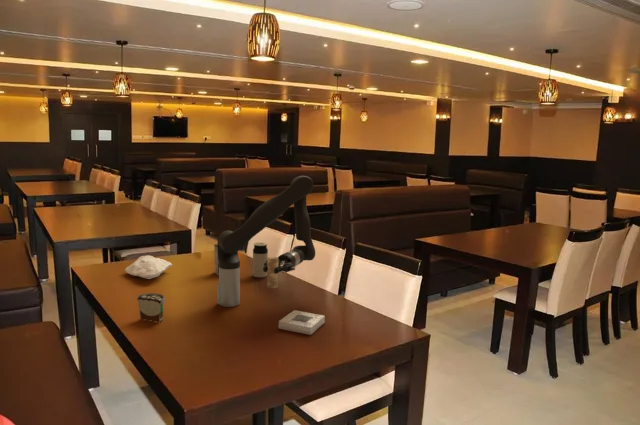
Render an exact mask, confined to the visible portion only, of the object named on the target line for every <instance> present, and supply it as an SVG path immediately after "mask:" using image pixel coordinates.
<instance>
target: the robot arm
mask: <svg viewBox="0 0 640 425" xmlns="http://www.w3.org/2000/svg"><path fill="white" fill-rule="evenodd" d="M313 188H314V182H313V179H312V178H311V177H310V176H307V175H299V176H296V177H294V178H293V179H292V180H291V181H290V185H289V186H288V187H287V188H286V189H285V190H283V191H282V192H280V193H278V194H277V195H275V196H273V197H271V198H268V200H266V201H265V202H263V203H262V204H261V205H259V206H258V207H257V208H256V209H255V210H253V212H252V213H251V215H250V216H249V218H248V219H247V220H246V221H245V222H244V223H243V225H241V226H240V227H238V228H237V229H235V230H234V231H232V230H224V231H222V232H221V233H220V234H219V236H218V238H217V243H216V244H217V248H218V261H219V275H218V278H219V279H218V283H217V285H216V289H217V292H216V299H217V300H216V303H217V304H218V305H219V306H221V307H225V308H232V307H237V306H239V305H240V303H241V301H240V300H241V299H240V298H241V286H240V285H241V260H240V258H239V251H240V250H241V249H242V248H243V247H245V246H246V244H248V243H249V242H250V241H251V239H253V238H254V237H255V236H256V235H258V234H259V233H260V232H262V231H263V230H265V229H266V228H267V227H268V226H270V225H271V224H272V223H274V221H276V220H277V219H278V218H279V217H280V216H281V215H283V214H284V213H285V212H286V211H287V210H289V208H290V207H291V206H293V207H294V208H293V209H294V221H295V222H294V223H295V238H296V240H298V241H302V242H303V243H304V245H295V246H294V247H293V249H292V250H290V251H286V252H283V253H282V254H280V255H279V256H277V257H278V267H276V268H275V269H274V273H275V274H277V273H278V274H279V273H282V272H284V273H288V272H293V271H295V270H296V267H297V266H298V265H300V264H301V263H303V262H304V261H313V260H314V259H315V257H316V249H315V246H314V243H313V240H312V239H313V238H312V232H311V231H312V230H311V219H310V215H309V213H308V212H309V211H308V206H307V196H308V195H310V193H312V191H313ZM267 269H268V260H266V262H265V263H264V267H263V271H264V272H267Z"/></svg>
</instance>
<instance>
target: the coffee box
mask: <svg viewBox="0 0 640 425" xmlns="http://www.w3.org/2000/svg"><path fill="white" fill-rule="evenodd" d="M213 245H214V274H216V275H217V276H219V261H218V248H217V243H216V244H213Z"/></svg>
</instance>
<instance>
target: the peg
mask: <svg viewBox="0 0 640 425" xmlns="http://www.w3.org/2000/svg"><path fill="white" fill-rule="evenodd" d="M278 257H279V256H268V269H267V276H266V278H267V279H266V281H267V282H266V287H267V288H270V289H277V288H278V287H279V273H277V274H275V273H274V269H275V268H276V267H278Z"/></svg>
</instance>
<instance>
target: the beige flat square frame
mask: <svg viewBox="0 0 640 425" xmlns="http://www.w3.org/2000/svg"><path fill="white" fill-rule="evenodd" d="M325 318H326V317H325V315H323V314H316V313H311V312H307V311H301V310H295V309H293V311H291V312H289V313H288V314H287V315H286V316H284V317H283V318H281V319H280V320H279V321H278V329H281V330H285V331H289V332H295V333H299V334H303V335H304V334H306V335H309V336H311V335H313V333H315V332H316V331H317V330H318V329H319V328H321V327H322V325H324V324H325V320H326V319H325Z"/></svg>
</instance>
